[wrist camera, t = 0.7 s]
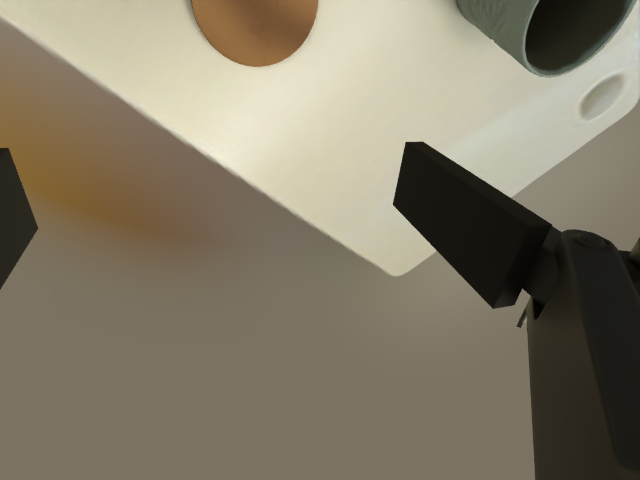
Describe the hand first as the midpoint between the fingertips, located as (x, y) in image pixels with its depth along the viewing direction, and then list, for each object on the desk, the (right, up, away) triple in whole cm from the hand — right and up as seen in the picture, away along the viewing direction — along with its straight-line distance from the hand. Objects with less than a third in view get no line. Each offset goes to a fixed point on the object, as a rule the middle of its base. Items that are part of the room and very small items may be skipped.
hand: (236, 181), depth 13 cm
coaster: (-3, +19, +19) cm, 27 cm away
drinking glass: (+20, +24, +24) cm, 40 cm away
